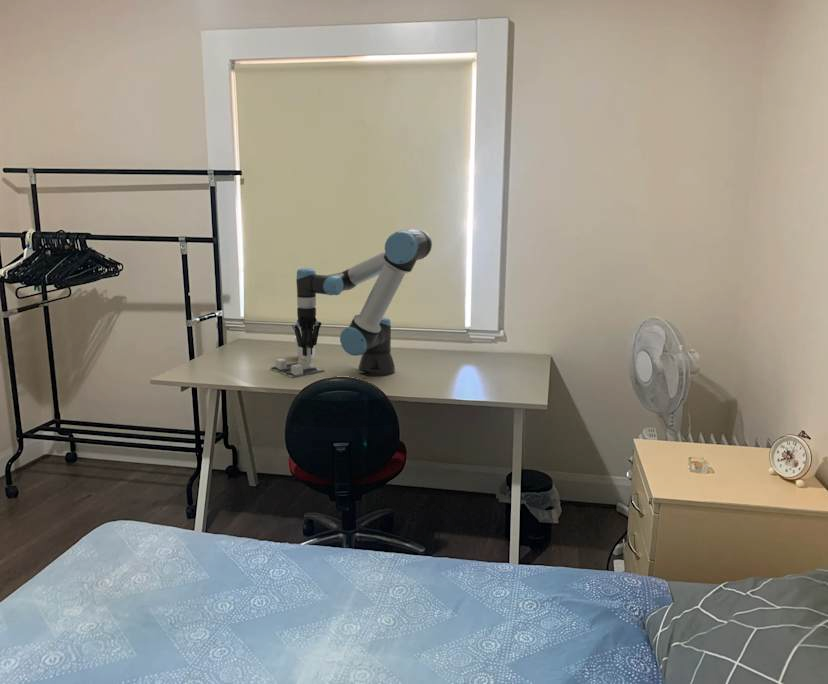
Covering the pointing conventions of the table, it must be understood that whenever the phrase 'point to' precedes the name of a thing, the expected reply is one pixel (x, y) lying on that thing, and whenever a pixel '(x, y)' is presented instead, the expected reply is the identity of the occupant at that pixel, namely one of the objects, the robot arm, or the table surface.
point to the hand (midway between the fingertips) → (307, 362)
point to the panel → (305, 372)
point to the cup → (300, 350)
